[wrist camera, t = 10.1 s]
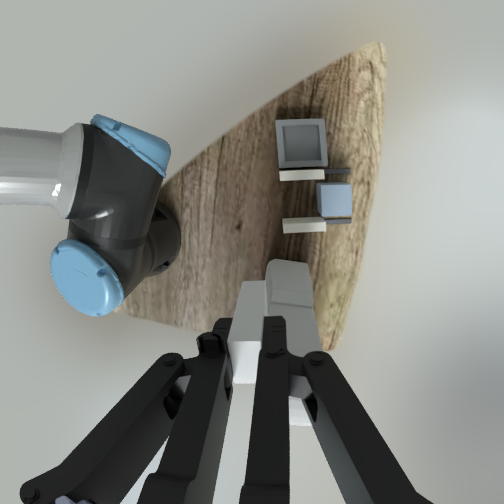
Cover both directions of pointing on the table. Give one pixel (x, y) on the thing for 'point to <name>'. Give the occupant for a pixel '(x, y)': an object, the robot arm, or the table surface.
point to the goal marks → (337, 171)
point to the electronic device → (293, 316)
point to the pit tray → (301, 143)
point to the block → (334, 199)
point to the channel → (306, 222)
